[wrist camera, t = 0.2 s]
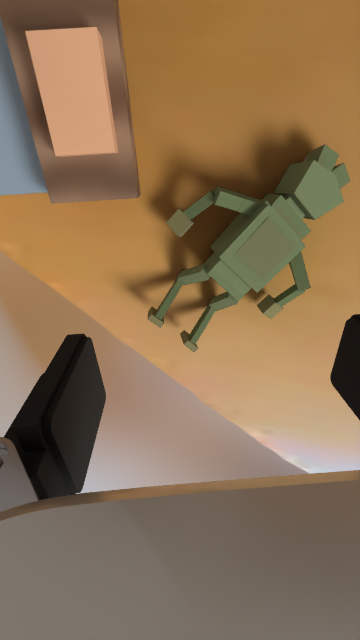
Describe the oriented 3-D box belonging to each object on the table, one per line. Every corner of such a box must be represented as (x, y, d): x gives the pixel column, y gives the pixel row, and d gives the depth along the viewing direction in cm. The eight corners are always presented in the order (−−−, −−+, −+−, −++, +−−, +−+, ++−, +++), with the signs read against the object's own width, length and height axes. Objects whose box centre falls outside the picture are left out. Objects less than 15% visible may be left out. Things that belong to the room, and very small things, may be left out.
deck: (11, -7, 26) (-14, -34, 22) (116, -13, 26) (108, -40, 22) (62, 199, 35) (51, 203, 31) (140, 194, 35) (137, 197, 31)
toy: (213, 353, 48) (359, 218, 39) (223, 381, 41) (401, 225, 32) (115, 280, 40) (268, 91, 31) (107, 299, 33) (299, 67, 25)
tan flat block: (35, 40, 24) (25, 31, 23) (101, 36, 24) (96, 27, 23) (62, 156, 29) (55, 156, 27) (118, 153, 29) (115, 152, 27)
